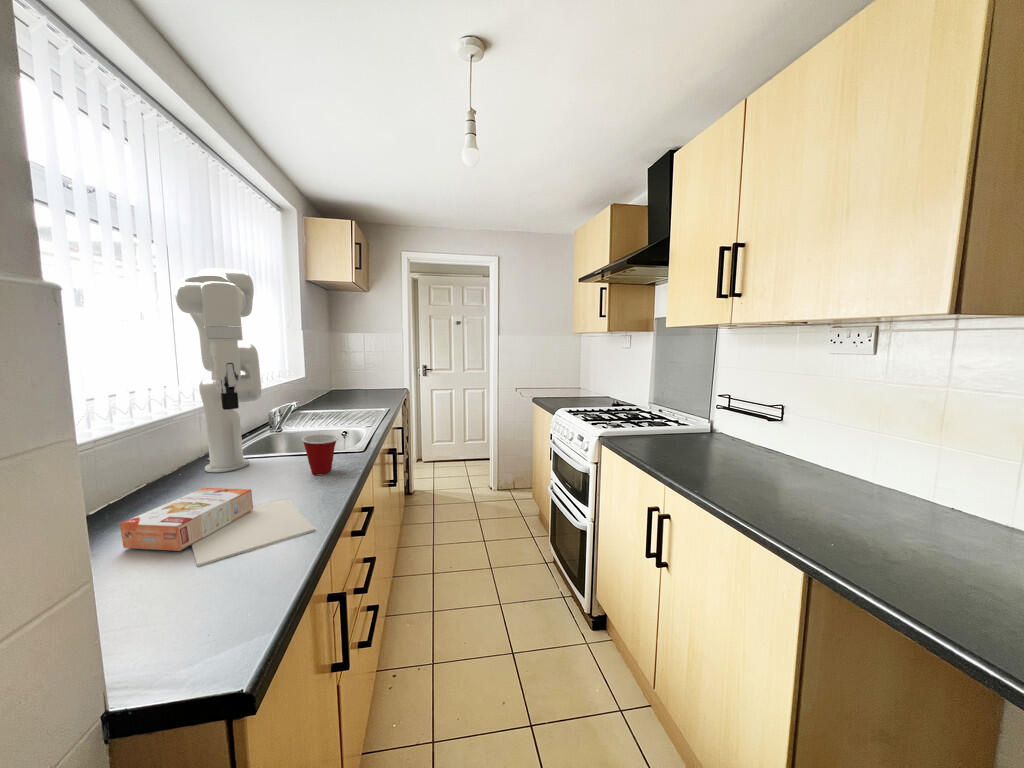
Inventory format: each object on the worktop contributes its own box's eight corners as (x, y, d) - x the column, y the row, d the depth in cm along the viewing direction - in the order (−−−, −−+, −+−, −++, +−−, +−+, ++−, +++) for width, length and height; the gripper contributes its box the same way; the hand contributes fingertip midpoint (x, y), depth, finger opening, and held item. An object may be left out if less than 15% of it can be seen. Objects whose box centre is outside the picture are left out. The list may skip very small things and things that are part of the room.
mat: (185, 525, 99) (185, 524, 99) (287, 500, 114) (287, 498, 114) (197, 566, 82) (197, 564, 82) (315, 530, 96) (315, 528, 96)
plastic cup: (330, 478, 132) (328, 441, 130) (297, 478, 132) (294, 441, 131) (345, 467, 142) (343, 433, 141) (314, 467, 143) (312, 433, 141)
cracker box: (252, 487, 106) (176, 525, 85) (254, 509, 107) (180, 553, 86) (202, 485, 108) (117, 523, 87) (205, 507, 108) (121, 550, 88)
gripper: (200, 334, 104) (208, 406, 107) (209, 335, 93) (216, 415, 96) (236, 333, 109) (242, 402, 112) (248, 334, 98) (254, 411, 101)
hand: (230, 408), depth 104 cm, fingers closed
